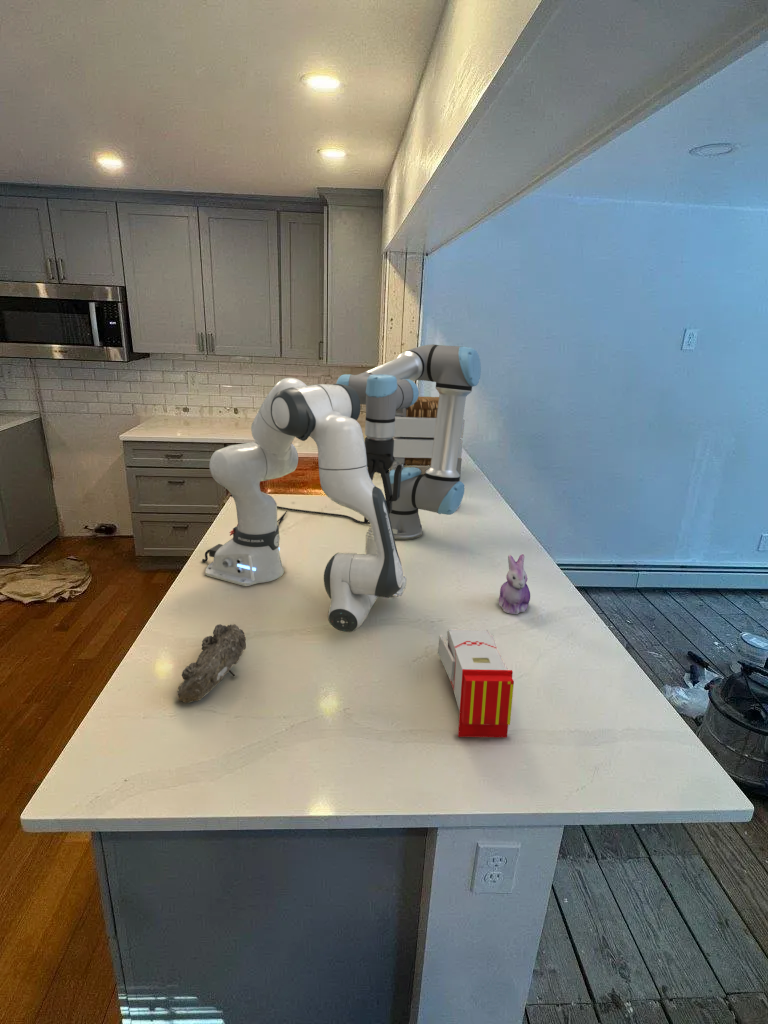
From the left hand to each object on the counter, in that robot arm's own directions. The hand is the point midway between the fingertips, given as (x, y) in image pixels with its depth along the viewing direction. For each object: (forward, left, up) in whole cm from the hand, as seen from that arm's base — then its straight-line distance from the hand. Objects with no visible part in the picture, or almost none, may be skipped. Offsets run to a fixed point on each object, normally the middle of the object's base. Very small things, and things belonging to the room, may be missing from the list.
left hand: (374, 568), depth 158 cm
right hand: (0, -1, +14) cm, 14 cm away
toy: (+31, -38, -6) cm, 50 cm away
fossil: (-22, -48, -6) cm, 53 cm away
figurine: (+39, +2, -6) cm, 39 cm away
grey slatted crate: (-9, +123, -6) cm, 124 cm away
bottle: (0, -1, -6) cm, 6 cm away
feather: (-47, +47, -6) cm, 67 cm away
